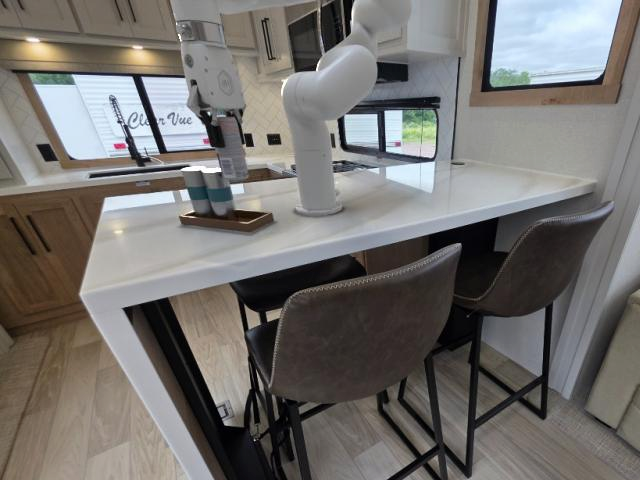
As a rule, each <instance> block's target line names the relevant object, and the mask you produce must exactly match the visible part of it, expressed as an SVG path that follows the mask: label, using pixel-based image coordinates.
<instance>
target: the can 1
mask: <svg viewBox="0 0 640 480" xmlns="http://www.w3.org/2000/svg"><path fill="white" fill-rule="evenodd" d="M205 169H207V168H206V167H205V166H189V167H183V168H181V169H180V171H181V175H182V177H183V180H184V183H185V184H184V185H185V188H186V191H187V194H188V197H189V200H190V203H191V207H192V208H193V211H194V212H195V215H196V217H200V218H209V219H215V217H214V213H213V210H212V206H211V203H210V200H209V197H208V193H207V190H206V186H205V182H204V179H203V175H202V172H201V171H202V170H205Z"/></svg>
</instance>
